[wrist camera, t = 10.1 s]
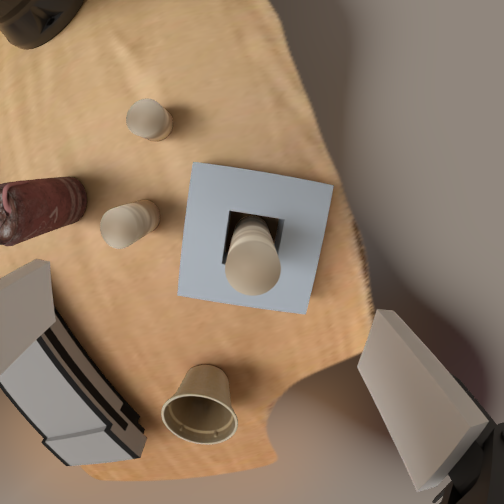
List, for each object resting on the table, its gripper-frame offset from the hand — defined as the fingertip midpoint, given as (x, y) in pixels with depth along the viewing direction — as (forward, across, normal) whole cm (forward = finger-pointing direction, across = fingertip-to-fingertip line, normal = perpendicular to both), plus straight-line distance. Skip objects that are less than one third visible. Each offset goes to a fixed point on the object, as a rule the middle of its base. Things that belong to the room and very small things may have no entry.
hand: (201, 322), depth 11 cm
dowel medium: (+25, -10, -1) cm, 27 cm away
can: (+25, -22, 0) cm, 33 cm away
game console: (+25, -27, -29) cm, 47 cm away
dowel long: (+25, +2, -2) cm, 25 cm away
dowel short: (+25, -10, +10) cm, 29 cm away
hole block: (+25, +2, -2) cm, 25 cm away
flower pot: (+25, -1, -24) cm, 34 cm away
